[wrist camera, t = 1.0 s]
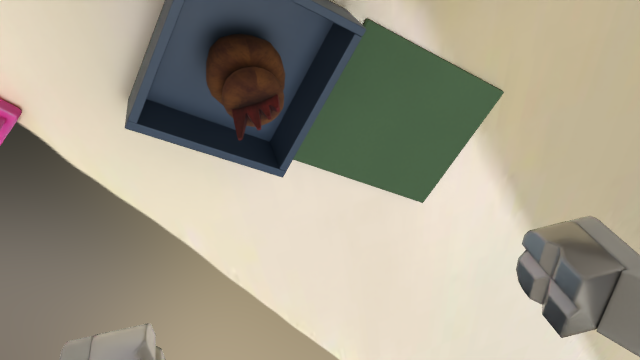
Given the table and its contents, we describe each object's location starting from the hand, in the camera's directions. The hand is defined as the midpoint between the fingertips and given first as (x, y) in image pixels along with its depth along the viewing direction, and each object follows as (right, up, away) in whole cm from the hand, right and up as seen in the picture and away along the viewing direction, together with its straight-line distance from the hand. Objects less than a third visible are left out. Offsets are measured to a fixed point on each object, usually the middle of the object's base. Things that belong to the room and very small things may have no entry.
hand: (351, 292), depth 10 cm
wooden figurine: (-8, +14, +37) cm, 40 cm away
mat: (+8, +9, +46) cm, 48 cm away
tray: (-9, +15, +37) cm, 40 cm away
